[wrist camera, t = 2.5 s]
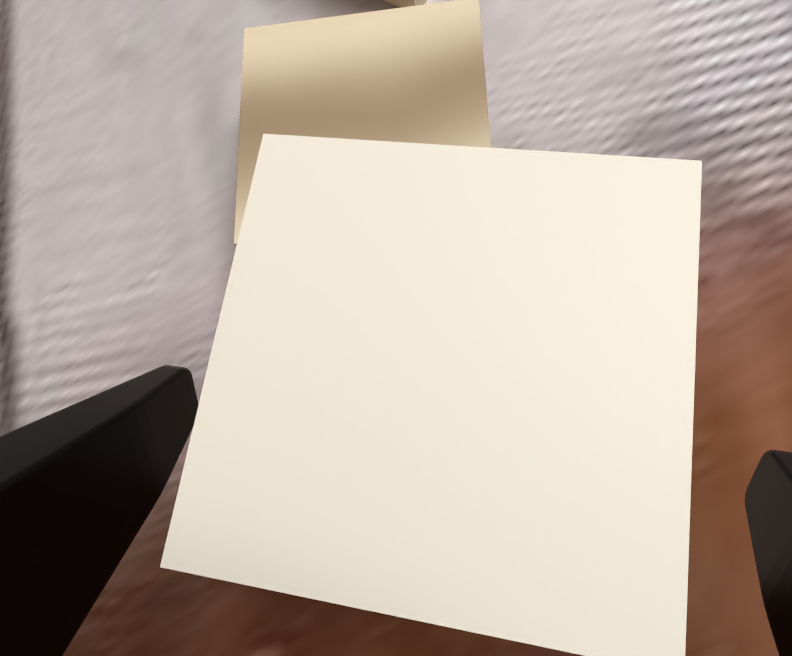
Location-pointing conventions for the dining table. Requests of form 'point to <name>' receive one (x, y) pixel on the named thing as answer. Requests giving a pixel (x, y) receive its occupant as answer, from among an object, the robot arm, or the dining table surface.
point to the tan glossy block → (364, 81)
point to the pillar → (456, 391)
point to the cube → (406, 2)
